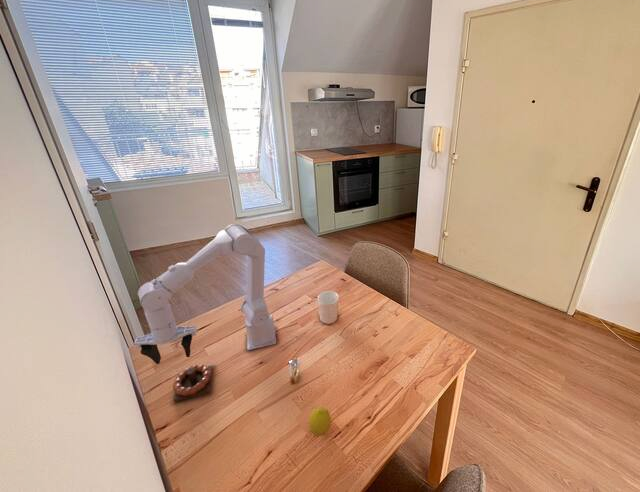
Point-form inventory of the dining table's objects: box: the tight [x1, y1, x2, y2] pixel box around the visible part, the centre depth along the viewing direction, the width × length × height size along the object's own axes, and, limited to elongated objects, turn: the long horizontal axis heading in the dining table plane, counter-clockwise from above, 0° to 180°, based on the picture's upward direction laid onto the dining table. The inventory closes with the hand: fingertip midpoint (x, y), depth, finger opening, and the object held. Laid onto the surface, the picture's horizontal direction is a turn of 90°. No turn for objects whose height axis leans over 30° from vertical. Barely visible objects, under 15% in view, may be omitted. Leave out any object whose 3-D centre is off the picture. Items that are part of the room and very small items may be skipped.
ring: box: [288, 357, 301, 385], centre depth 89 cm, size 7×3×8 cm, turn 174°
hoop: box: [172, 364, 211, 396], centre depth 87 cm, size 10×10×2 cm
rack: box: [173, 365, 213, 403], centre depth 87 cm, size 9×9×6 cm
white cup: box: [317, 290, 339, 325], centre depth 113 cm, size 8×8×10 cm
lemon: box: [308, 406, 332, 437], centre depth 75 cm, size 6×6×8 cm
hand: (174, 357), depth 85 cm, fingers open, 7 cm apart
